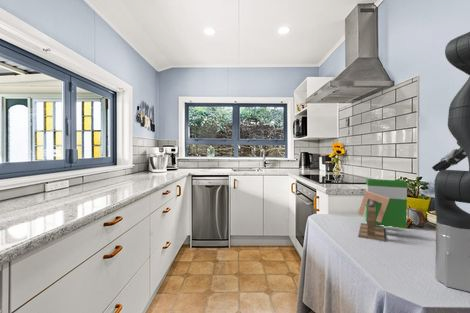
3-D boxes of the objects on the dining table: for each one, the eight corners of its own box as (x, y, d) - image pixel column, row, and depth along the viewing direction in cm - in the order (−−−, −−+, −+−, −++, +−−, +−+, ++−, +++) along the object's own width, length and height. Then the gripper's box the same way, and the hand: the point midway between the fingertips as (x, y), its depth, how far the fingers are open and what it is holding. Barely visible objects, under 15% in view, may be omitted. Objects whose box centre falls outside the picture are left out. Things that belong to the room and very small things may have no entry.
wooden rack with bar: (384, 241, 101) (385, 204, 101) (358, 236, 106) (359, 202, 106) (383, 228, 119) (383, 197, 119) (360, 225, 124) (361, 195, 124)
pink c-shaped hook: (380, 222, 109) (389, 199, 107) (357, 214, 114) (365, 191, 113) (380, 221, 112) (389, 198, 110) (358, 212, 117) (366, 190, 115)
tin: (425, 228, 120) (426, 212, 120) (419, 228, 121) (419, 212, 121) (410, 220, 135) (410, 206, 135) (404, 220, 136) (404, 205, 135)
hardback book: (402, 224, 126) (403, 180, 126) (406, 228, 120) (407, 182, 119) (365, 220, 134) (366, 178, 133) (366, 223, 127) (367, 180, 127)
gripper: (497, 146, 76) (449, 178, 82) (481, 148, 88) (440, 176, 94) (475, 130, 79) (430, 163, 85) (462, 134, 91) (424, 162, 97)
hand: (436, 170), depth 89 cm, fingers open, 8 cm apart
